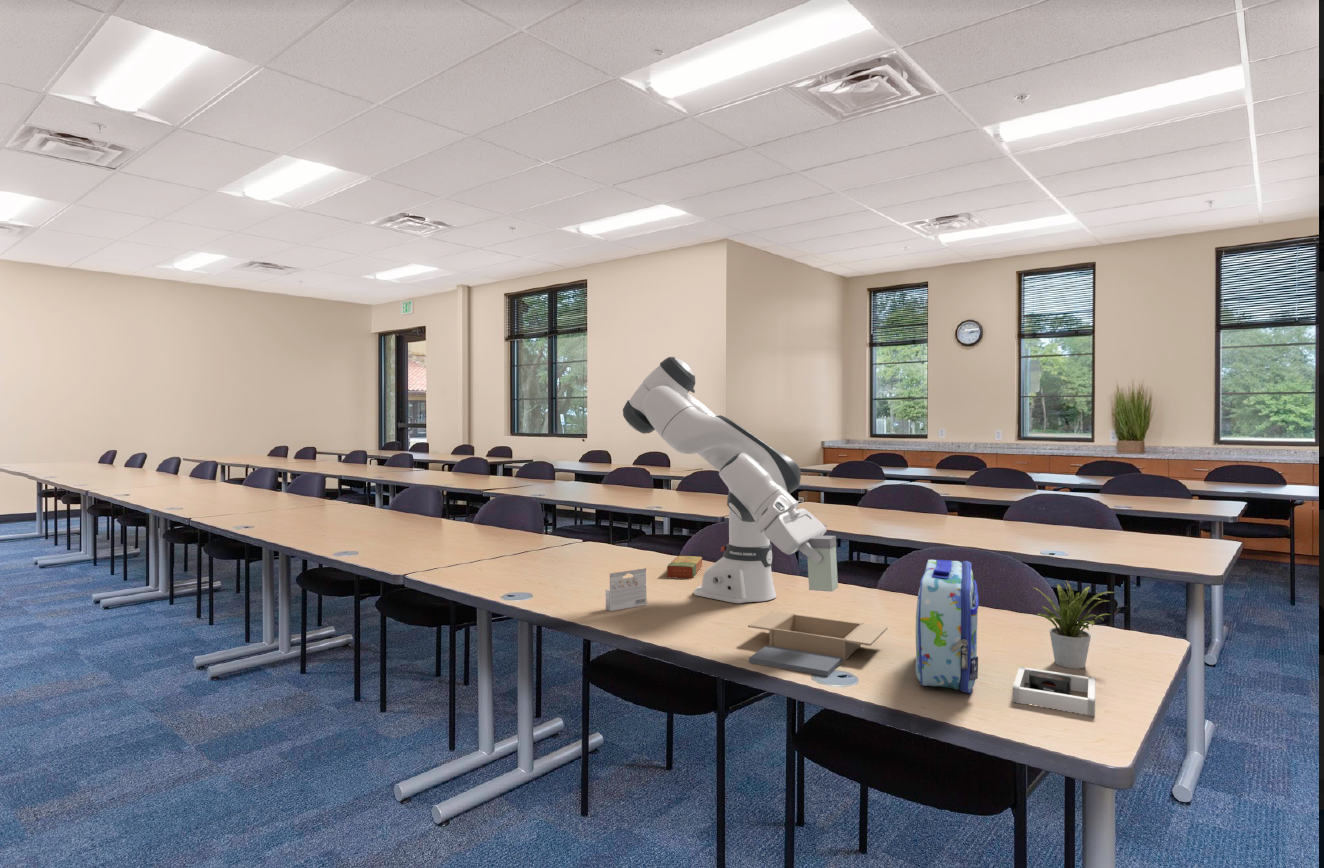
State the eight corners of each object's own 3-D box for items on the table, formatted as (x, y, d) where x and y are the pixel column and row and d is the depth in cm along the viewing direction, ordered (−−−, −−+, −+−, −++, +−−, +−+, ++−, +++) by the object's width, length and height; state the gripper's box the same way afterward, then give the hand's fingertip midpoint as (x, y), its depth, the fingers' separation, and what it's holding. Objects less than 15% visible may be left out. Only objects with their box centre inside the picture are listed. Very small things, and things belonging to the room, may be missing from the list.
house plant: (1138, 674, 136) (1139, 587, 136) (1079, 682, 133) (1080, 593, 132) (1075, 651, 150) (1075, 572, 150) (1020, 658, 146) (1020, 576, 146)
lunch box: (979, 703, 123) (979, 580, 123) (912, 694, 128) (912, 575, 127) (977, 656, 148) (977, 553, 147) (920, 650, 152) (920, 550, 151)
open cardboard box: (747, 644, 157) (747, 625, 156) (772, 628, 168) (772, 610, 168) (870, 664, 143) (870, 644, 143) (887, 645, 155) (887, 626, 155)
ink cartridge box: (605, 609, 186) (604, 571, 186) (642, 603, 192) (641, 566, 192) (609, 612, 184) (609, 573, 184) (647, 605, 190) (646, 568, 190)
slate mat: (749, 662, 145) (749, 657, 145) (766, 650, 153) (766, 645, 153) (827, 676, 137) (827, 671, 137) (842, 662, 144) (842, 657, 144)
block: (808, 590, 154) (805, 538, 154) (814, 585, 158) (812, 535, 158) (832, 591, 152) (829, 539, 152) (838, 587, 155) (835, 535, 155)
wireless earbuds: (1026, 687, 131) (1026, 669, 131) (1071, 696, 127) (1071, 677, 127) (1021, 695, 127) (1021, 677, 127) (1068, 705, 123) (1068, 685, 123)
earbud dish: (1012, 702, 124) (1012, 687, 124) (1019, 680, 134) (1019, 666, 134) (1094, 716, 118) (1094, 701, 117) (1095, 692, 128) (1095, 678, 128)
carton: (702, 569, 236) (702, 556, 236) (693, 580, 221) (693, 566, 221) (677, 568, 238) (677, 555, 238) (666, 578, 223) (666, 564, 223)
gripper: (786, 515, 169) (830, 559, 164) (751, 528, 152) (799, 578, 147) (804, 496, 167) (848, 540, 162) (770, 507, 149) (819, 557, 145)
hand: (824, 558), depth 154 cm, fingers closed on block, 4 cm apart
